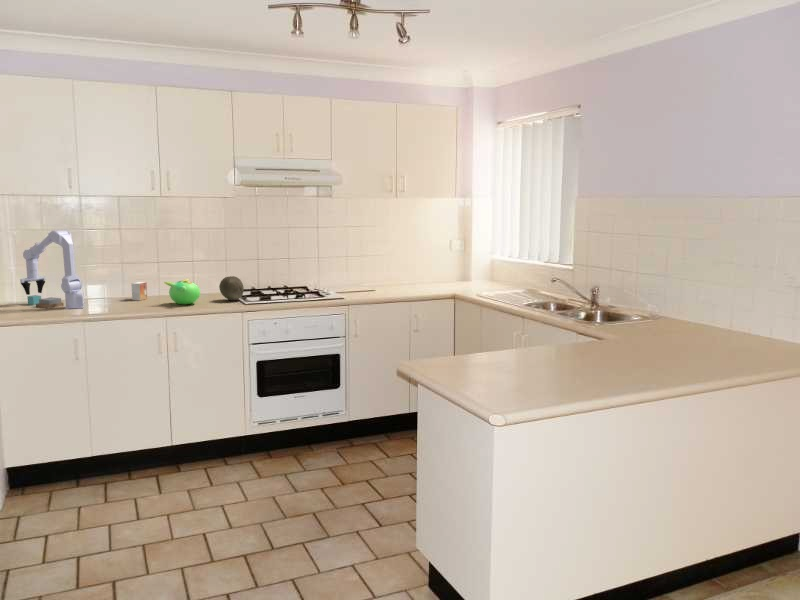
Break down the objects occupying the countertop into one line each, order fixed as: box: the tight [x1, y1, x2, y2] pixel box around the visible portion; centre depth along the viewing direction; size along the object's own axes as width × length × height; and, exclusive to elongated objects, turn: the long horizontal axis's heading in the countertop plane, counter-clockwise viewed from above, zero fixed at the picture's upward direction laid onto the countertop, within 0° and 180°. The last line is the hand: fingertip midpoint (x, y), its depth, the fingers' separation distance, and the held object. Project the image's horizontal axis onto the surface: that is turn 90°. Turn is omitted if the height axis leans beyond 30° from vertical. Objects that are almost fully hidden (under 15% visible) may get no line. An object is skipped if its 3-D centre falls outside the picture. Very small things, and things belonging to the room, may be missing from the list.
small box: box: [131, 281, 148, 301], centre depth 415 cm, size 8×6×10 cm
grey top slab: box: [39, 296, 62, 305], centre depth 389 cm, size 8×8×2 cm
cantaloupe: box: [218, 275, 245, 302], centre depth 415 cm, size 14×14×15 cm
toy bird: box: [163, 278, 201, 306], centre depth 400 cm, size 18×17×15 cm
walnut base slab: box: [35, 301, 65, 309], centre depth 390 cm, size 10×10×2 cm
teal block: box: [26, 294, 42, 306], centre depth 395 cm, size 5×5×5 cm
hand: (34, 293), depth 394 cm, fingers open, 7 cm apart
